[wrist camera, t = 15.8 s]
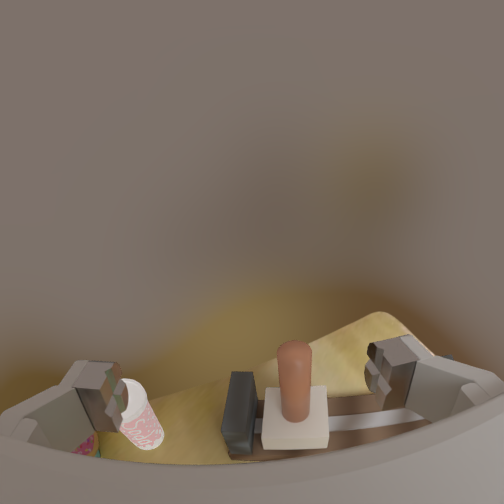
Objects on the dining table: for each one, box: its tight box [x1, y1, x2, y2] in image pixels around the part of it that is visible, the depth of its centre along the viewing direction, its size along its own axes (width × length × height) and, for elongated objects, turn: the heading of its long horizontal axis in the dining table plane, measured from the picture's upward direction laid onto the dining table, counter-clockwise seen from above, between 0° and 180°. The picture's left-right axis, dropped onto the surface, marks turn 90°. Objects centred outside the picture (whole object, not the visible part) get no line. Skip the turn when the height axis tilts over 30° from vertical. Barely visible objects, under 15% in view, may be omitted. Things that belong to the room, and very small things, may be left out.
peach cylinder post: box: [261, 340, 329, 450], centre depth 29 cm, size 7×7×13 cm
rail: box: [221, 355, 454, 461], centre depth 31 cm, size 27×8×8 cm, turn 84°
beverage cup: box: [119, 378, 164, 450], centre depth 31 cm, size 6×6×14 cm
